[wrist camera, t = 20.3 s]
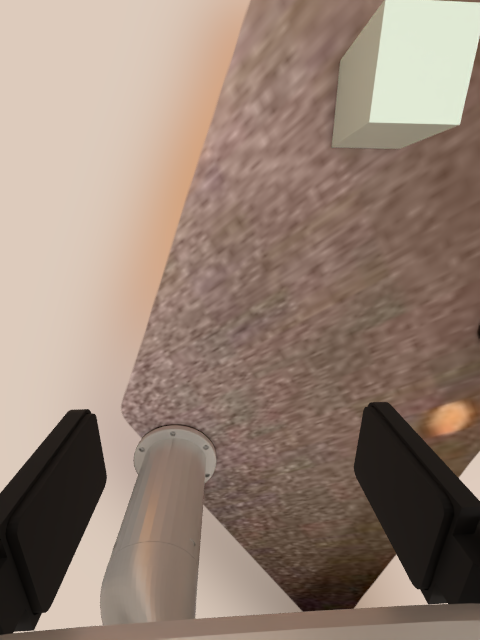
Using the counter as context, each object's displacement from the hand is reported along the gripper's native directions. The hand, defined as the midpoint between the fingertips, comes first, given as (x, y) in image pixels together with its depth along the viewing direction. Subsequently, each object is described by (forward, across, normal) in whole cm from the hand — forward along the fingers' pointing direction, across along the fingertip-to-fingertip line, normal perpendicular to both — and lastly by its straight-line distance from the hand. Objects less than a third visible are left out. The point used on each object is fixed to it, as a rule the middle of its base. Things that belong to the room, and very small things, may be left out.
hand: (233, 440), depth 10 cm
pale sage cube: (+28, -16, -19) cm, 37 cm away
